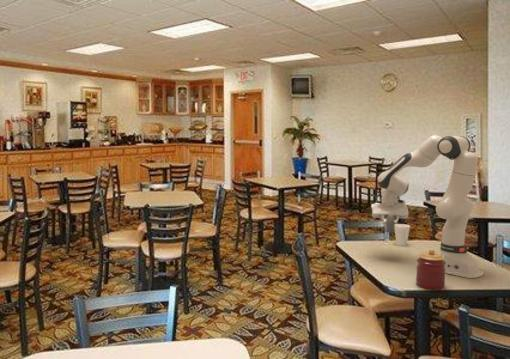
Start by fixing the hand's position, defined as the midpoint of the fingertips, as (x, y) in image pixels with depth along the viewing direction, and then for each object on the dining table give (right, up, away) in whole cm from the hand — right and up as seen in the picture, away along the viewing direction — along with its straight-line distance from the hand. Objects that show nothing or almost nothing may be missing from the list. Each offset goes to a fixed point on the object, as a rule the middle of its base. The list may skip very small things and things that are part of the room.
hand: (390, 223), depth 247 cm
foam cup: (+19, -18, +38) cm, 46 cm away
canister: (+7, -26, -38) cm, 47 cm away
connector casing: (0, -5, +1) cm, 5 cm away
